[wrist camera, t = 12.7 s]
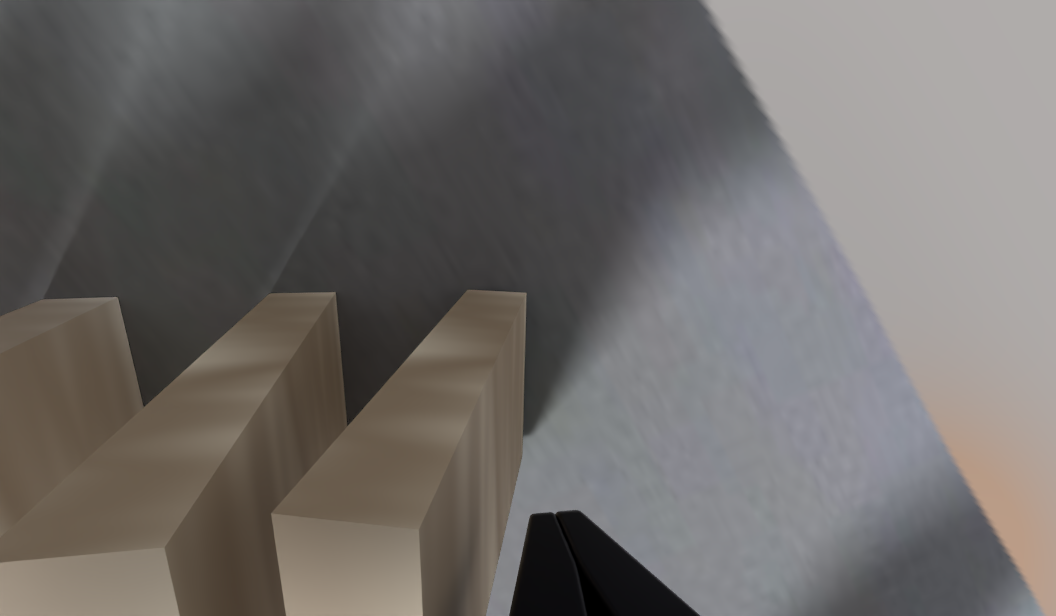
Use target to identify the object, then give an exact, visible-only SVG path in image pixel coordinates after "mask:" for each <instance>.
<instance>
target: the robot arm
mask: <svg viewBox="0 0 1056 616" xmlns="http://www.w3.org/2000/svg"><path fill="white" fill-rule="evenodd" d="M509 616H700V615H699V614H698V613H697V612H695V611H694V610H693V609H692V608H691V607H690V606H689V605H687V604H686V603H685V602H684V601H683V600H682V599H681V598H679V597H678V596H677V595H676V594H675V593H674V592H673V591H671V590H670V589H669V588H668V587H667V586H666V585H665V584H663V583H662V582H661V581H660V580H659V579H658V578H656V577H655V576H654V575H653V574H652V573H651V572H650V571H648V570H647V569H646V568H645V567H644V566H643V565H642V564H640V563H639V562H638V561H637V560H636V559H635V558H634V557H632V556H631V555H630V554H629V553H628V552H627V551H626V550H624V549H623V548H622V547H621V546H620V545H619V544H618V543H616V542H615V541H614V540H613V539H612V538H611V537H610V536H608V535H607V534H606V533H605V532H604V531H603V530H602V529H600V528H599V527H598V526H597V525H596V524H595V523H594V522H592V521H591V520H590V519H589V518H588V517H587V516H586V515H584V514H583V513H582V512H581V511H578V510H570V511H559V512H557V513H556V514H554V513H552V512H548V513H536V514H532V515H531V516H530V518H529V523H528V528H527V533H526V538H525V542H524V547H523V552H522V557H521V562H520V566H519V571H518V576H517V581H516V586H515V591H514V595H513V600H512V605H511V610H510V615H509Z"/></svg>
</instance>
